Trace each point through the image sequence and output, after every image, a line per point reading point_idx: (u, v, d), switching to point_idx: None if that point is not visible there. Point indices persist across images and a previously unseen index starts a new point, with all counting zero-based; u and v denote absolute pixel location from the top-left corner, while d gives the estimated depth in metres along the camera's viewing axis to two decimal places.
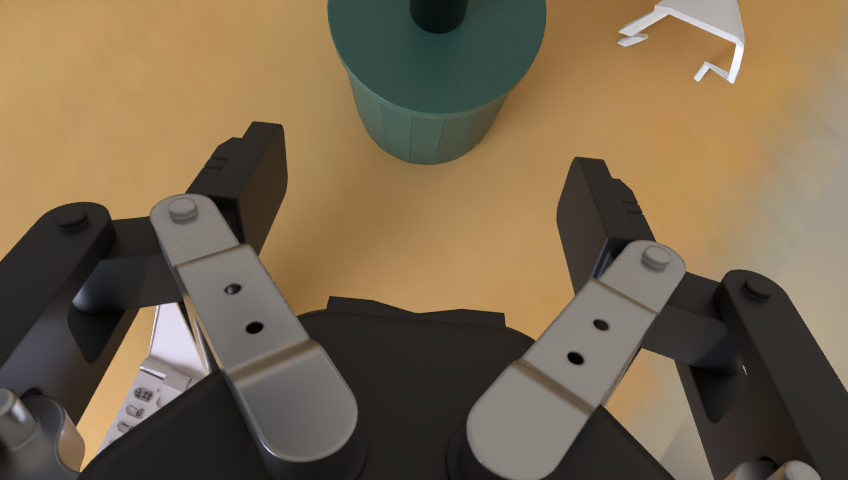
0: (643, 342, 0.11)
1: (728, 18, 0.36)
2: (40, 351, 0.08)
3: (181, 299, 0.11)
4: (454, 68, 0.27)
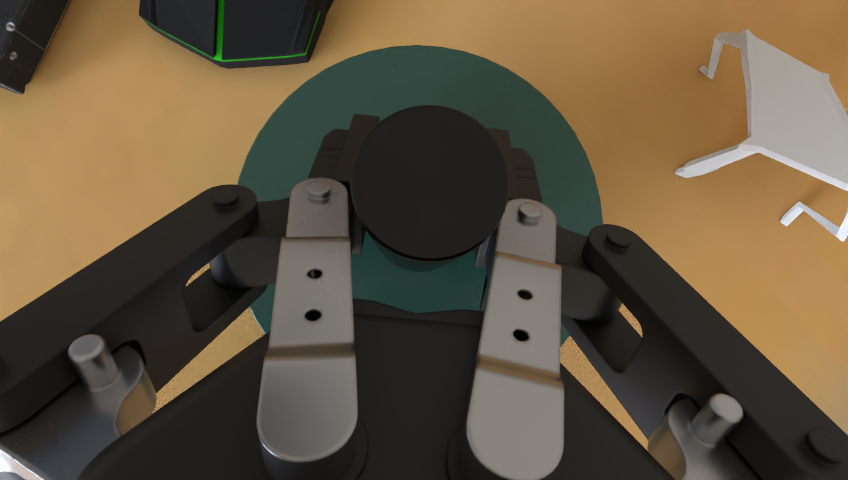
0: None
1: (846, 161, 0.25)
2: (149, 310, 0.09)
3: None
4: None
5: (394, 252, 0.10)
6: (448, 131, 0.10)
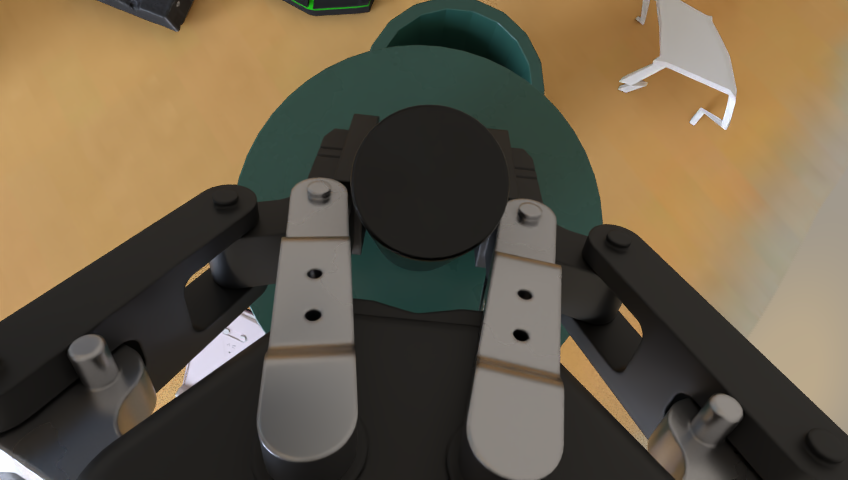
0: None
1: (721, 72, 0.39)
2: (150, 310, 0.09)
3: None
4: None
5: (394, 252, 0.10)
6: (448, 131, 0.10)
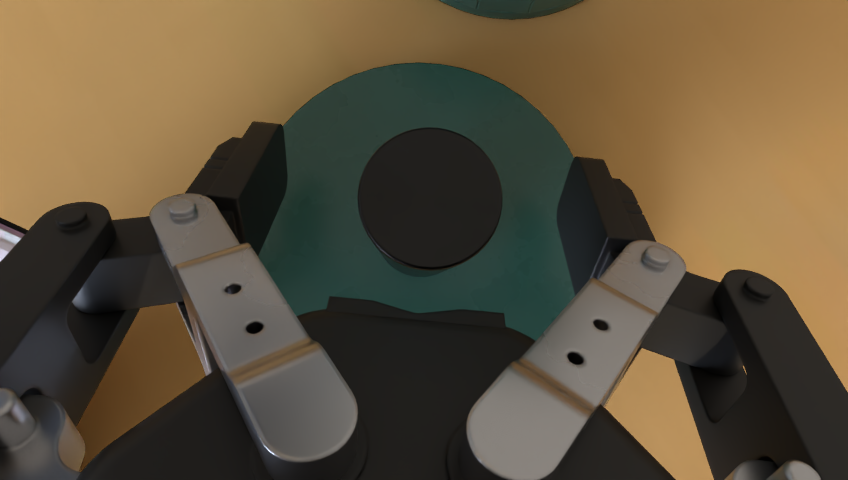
0: (643, 342, 0.11)
1: None
2: (40, 351, 0.08)
3: (181, 299, 0.11)
4: None
5: (397, 262, 0.10)
6: (447, 151, 0.11)
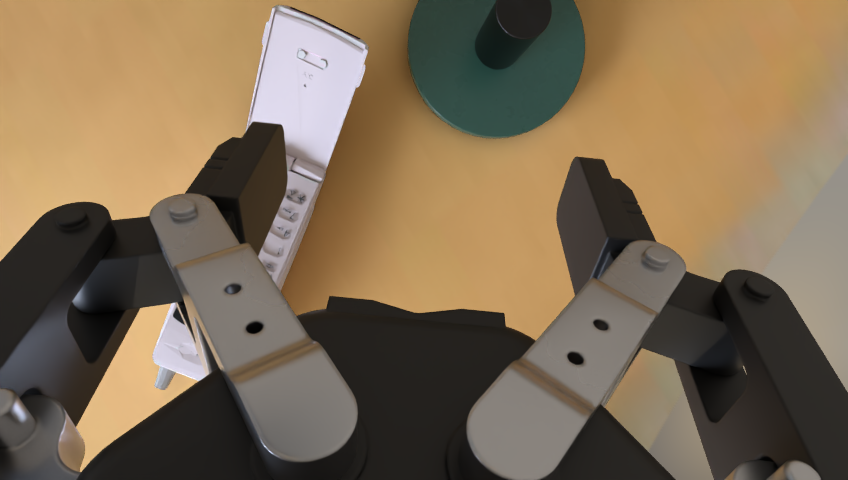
0: (643, 342, 0.11)
1: None
2: (40, 351, 0.08)
3: (181, 299, 0.11)
4: (510, 98, 0.34)
5: (510, 35, 0.27)
6: None
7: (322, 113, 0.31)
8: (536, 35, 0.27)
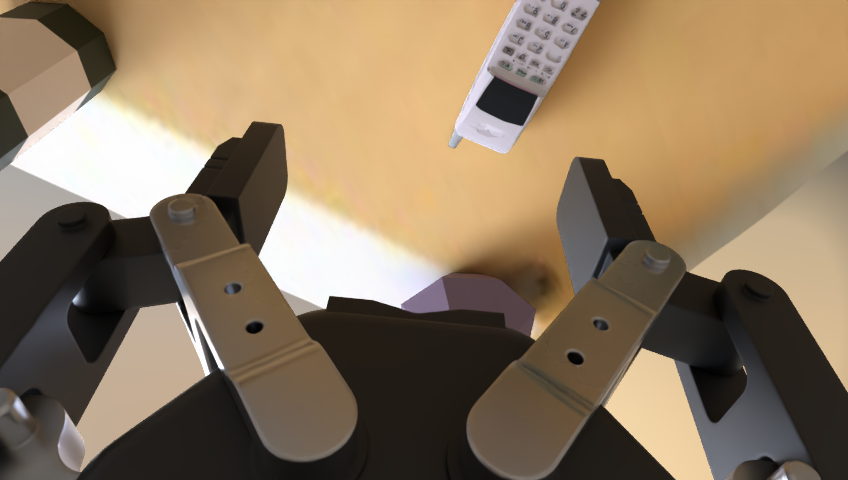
0: (643, 342, 0.11)
1: None
2: (40, 351, 0.08)
3: (181, 299, 0.11)
4: None
5: None
6: None
7: None
8: None
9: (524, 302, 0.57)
